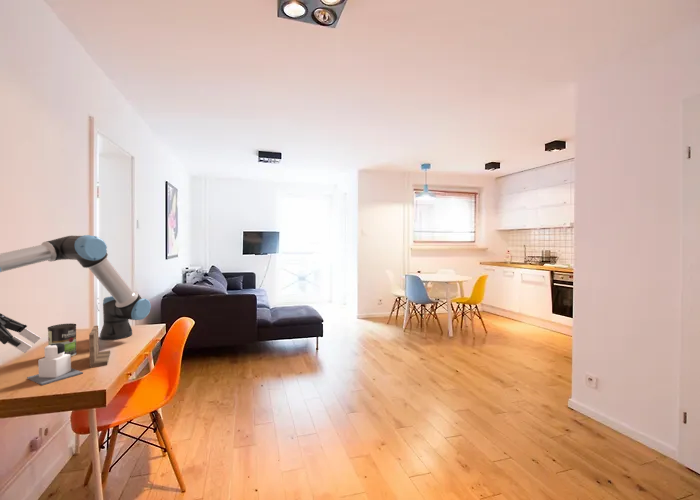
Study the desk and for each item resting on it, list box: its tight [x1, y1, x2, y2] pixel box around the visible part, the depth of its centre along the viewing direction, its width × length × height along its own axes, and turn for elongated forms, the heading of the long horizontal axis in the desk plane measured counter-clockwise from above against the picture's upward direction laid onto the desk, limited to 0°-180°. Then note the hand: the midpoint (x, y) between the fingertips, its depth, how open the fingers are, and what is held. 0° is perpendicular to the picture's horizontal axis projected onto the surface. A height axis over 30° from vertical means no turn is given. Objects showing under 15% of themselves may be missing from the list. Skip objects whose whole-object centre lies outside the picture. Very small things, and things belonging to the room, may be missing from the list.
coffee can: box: [47, 323, 78, 357], centre depth 161 cm, size 10×10×14 cm
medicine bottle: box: [38, 343, 72, 378], centre depth 137 cm, size 7×7×12 cm
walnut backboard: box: [88, 325, 111, 368], centre depth 155 cm, size 18×6×14 cm, turn 31°
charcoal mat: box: [26, 367, 84, 386], centre depth 137 cm, size 13×13×1 cm
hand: (33, 345), depth 133 cm, fingers open, 13 cm apart
